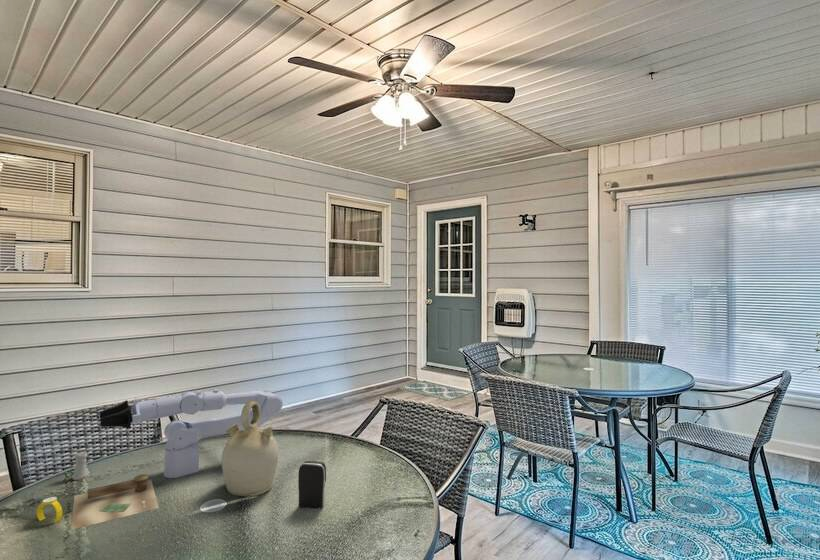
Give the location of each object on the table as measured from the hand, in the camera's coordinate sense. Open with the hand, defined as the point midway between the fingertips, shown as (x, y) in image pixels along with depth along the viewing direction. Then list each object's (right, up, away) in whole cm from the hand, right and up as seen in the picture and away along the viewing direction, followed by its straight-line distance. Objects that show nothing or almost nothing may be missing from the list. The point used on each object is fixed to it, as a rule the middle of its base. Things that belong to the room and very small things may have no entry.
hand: (100, 419), depth 123 cm
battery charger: (+61, -21, -6) cm, 65 cm away
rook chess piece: (-11, -21, +7) cm, 24 cm away
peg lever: (+7, -20, -3) cm, 21 cm away
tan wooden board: (+9, -20, -7) cm, 23 cm away
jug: (+41, -21, +3) cm, 46 cm away
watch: (-1, -21, -16) cm, 26 cm away
